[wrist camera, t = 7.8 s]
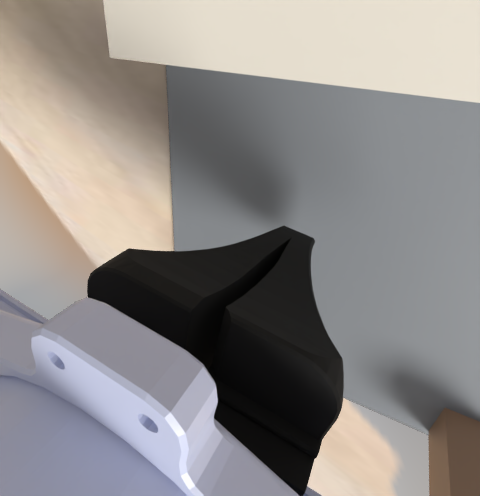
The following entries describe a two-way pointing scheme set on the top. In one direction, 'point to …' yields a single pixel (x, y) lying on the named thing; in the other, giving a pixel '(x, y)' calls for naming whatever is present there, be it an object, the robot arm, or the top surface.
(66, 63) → the top surface
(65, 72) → the top surface
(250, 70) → the gate
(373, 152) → the flat gray panel
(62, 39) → the top surface
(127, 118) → the top surface
